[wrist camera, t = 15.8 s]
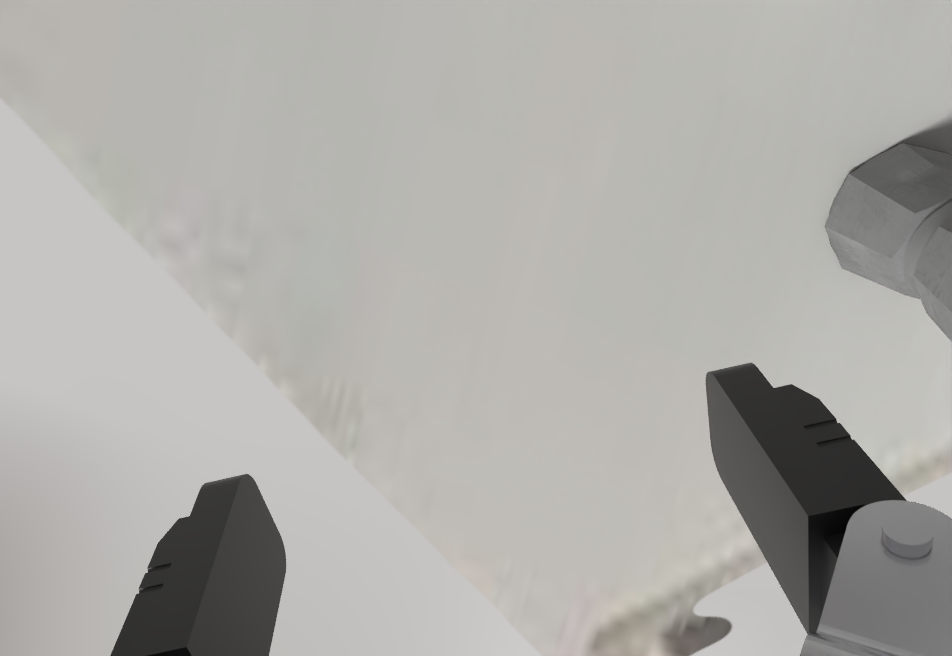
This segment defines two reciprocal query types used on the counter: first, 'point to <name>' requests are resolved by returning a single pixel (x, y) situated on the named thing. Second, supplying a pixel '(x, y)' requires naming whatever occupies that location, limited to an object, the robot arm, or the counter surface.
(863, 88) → the counter surface
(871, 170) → the coffeepot
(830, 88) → the counter surface
